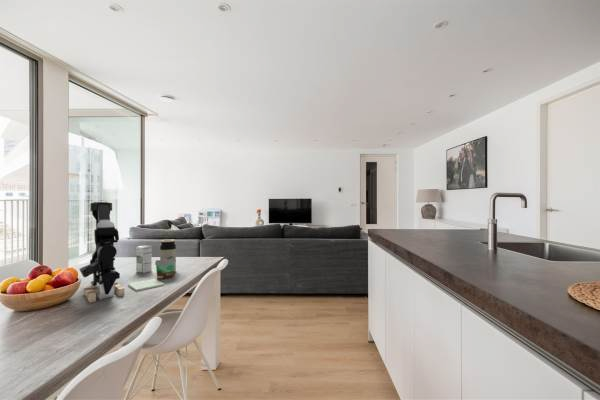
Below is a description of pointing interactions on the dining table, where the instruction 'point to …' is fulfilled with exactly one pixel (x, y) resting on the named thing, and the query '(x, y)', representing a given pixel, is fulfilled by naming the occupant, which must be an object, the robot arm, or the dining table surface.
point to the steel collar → (101, 291)
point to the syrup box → (143, 259)
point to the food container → (165, 268)
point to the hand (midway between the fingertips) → (105, 292)
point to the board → (145, 284)
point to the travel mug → (168, 250)
